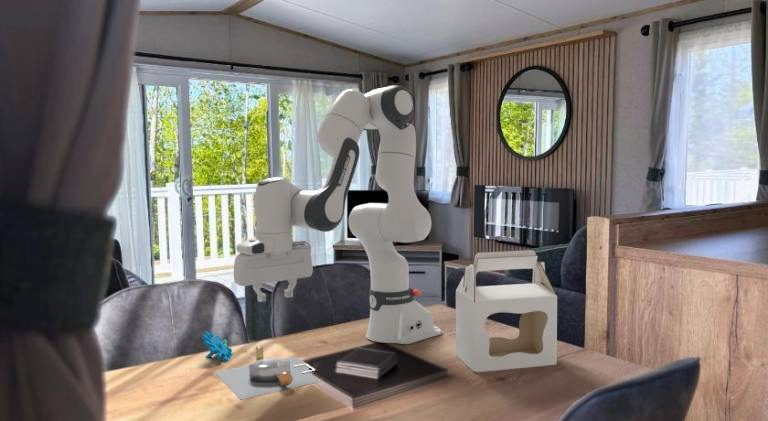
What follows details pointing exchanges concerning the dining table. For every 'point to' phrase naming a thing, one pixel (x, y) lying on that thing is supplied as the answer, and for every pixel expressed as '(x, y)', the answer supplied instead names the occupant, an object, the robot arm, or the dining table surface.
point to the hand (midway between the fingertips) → (275, 299)
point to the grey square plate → (249, 388)
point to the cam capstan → (270, 369)
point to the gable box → (524, 299)
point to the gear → (217, 346)
